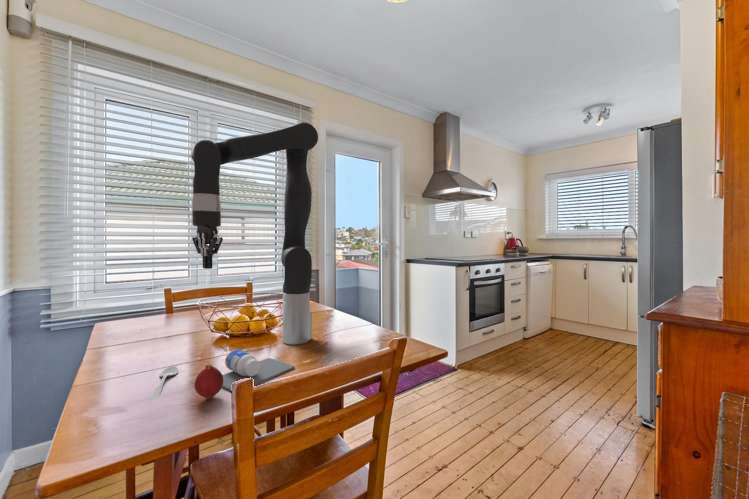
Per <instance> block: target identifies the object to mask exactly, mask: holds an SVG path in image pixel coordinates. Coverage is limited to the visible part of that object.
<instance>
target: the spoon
mask: <svg viewBox="0 0 749 499" xmlns="http://www.w3.org/2000/svg"><path fill="white" fill-rule="evenodd" d="M177 374H179V368H178V367H177V366H176V365H169V366H167V367H165V369H163V371H161V373H160V374H159V377H161V380H160V382H159V384H158V385H157V386H156V388H155V389H154V391H153V392H152V393H151V395H150V396H149V400H150V401H154V400H156V399H157V398H159V397H160V396H161V393H162V390H163V386H164V382H165V380H166V379H167V378H168V377H173V376H175V375H177Z"/></svg>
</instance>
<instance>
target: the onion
mask: <svg viewBox="0 0 749 499" xmlns="http://www.w3.org/2000/svg"><path fill="white" fill-rule="evenodd" d="M223 375H224V374H222V372H221V371H220V370H219V369H218V368H217V367H214V366H213V365H212V364H209V363H208V364H206V365H205V368H204V369H202V370H201V371H200V372H199V373H198V374H197V375H196V378H195V381H194V390H195V392H196V393H197V395H199V396H201V397H202V398H205V399H206V400H211V399H213V398H214V397H215V396H216V395H217V394H218V393H219V392H220V391H221V389H223V388H222V386H223Z"/></svg>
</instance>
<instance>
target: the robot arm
mask: <svg viewBox="0 0 749 499" xmlns="http://www.w3.org/2000/svg"><path fill="white" fill-rule="evenodd" d="M318 141H319V134H318V131H317V129H316V127H315V126H314V125H312V124H311V123H308V122H299V123H296V124H294V125H291V126H289V127H285V128H281V129H278V130H274V131H269V132H261V133H260V132H259V133H255V134H254V133H253V134H248V135H247V134H246V135H240V136H235V137H234V136H233V137H229V138H226V139H224V140H223V141H217V142H214V141H212V140H211V139H210V140H209V139H201V140H199V141H197V142H196V143H195V144H194V146H193V148H192V150H191V158H192V161H193V163H194V165H193V166H194V175H193V179H192V202H191V204H192V205H191V206H192V207H191V208H192V209H191V210H192V212H191V214H192V216H191V218H192V219H191V220H192V226H193V227H197V228H196V236H192V238H191V239H192V240H191V241H192V242H193V245H194V247H195V250H196V252H197V254H200V256H202V269H206V270H209V269H213V256H214V255H217V254H218V252H219V249H220V247H221V245H222V243H223V241H224V238H223V237H222V236H221V237H220V236H219V235H218V234H219V232H218V228H217V227H221V226H222V218H221V216H222V214H221V213H222V209H221V208H222V207H221V205H222V204H221V194H220V173H221V172H220V171H221V166H223V165H226V164H228V163H234V162H240V161H245V160H251V159H254V158H255V159H256V158H258V157H263V156H265V155H266V156H267V155H269V154H273V153H277V152H280V151H284V150H285V156H286V157H285V158H286V161H285V162H286V168H285V169H286V170H285V171H286V172H285V182H284V183H285V185H284V186H285V187H284V196H283V198H284V201H283V203H284V204H283V207H284V208H283V209H284V211H283V213H284V217H283V218H284V219H283V220H284V221H283V222H284V236H283V244H282V249H281V258H280V259H281V260H280V261H281V264H282V266H283V267H284V277H283V278H284V280H283V284H282V342H283V343H284V344H286V345H302V344H306V343H308V342H309V341H311V340H312V338H313V336H312V335H313V332H312V331H313V328H312V327H313V323H312V322H313V316H312V315H313V314H312V311H310V310H311V292H310V291H311V285H312V279H313V278H312V275H313V274H312V273H313V272H312V271H313V261H312V255H311V253H310V251H309V250H308V249H307V248H306V229H307V228H308V227H307V226H308V223H309V220H310V214H311V210H312V196H313V194H312V193H313V192H312V186H311V182H310V178H309V175H308V170H307V169H308V168H307V164H308V163H307V162H308V154H309V151H311V150H312V149H313V148H315V147H316V146H317V144H318Z"/></svg>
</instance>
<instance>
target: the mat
mask: <svg viewBox="0 0 749 499" xmlns="http://www.w3.org/2000/svg"><path fill="white" fill-rule="evenodd" d="M259 363H260V370H259V372H258V373H257V374H256V375H254V376H242V375H240V374H238V373H236V372H234V371H232V370H231V371H230V372H228V373H224V374H222V375H223V386H222V388H221V389H224V390H226V391H229V392H230V393H232V392H231V385H232V383H233V382H235V381H238V380H240V379H244V378H250V377H251V378H253V379H254V386H253V387H256V386H258V385H260V384H262V383H264V382H266V381H269V380H271V378H272V379H273V377H274V378H276V377H278V376H281V375H283V374H285V373H287V372H286V371H288V370H290V371H292V370H294V369H295V368H296V366H295V365H291V364H289V363H286V362H283V361H280V360H277V359H273V358H270V357H268V358H265V359H262V360H259ZM293 368H294V369H293ZM291 369H292V370H291ZM284 372H285V373H284ZM288 372H289V371H288ZM282 373H283V374H282ZM280 374H281V375H280ZM275 376H276V377H275ZM268 379H269V380H268Z"/></svg>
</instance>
